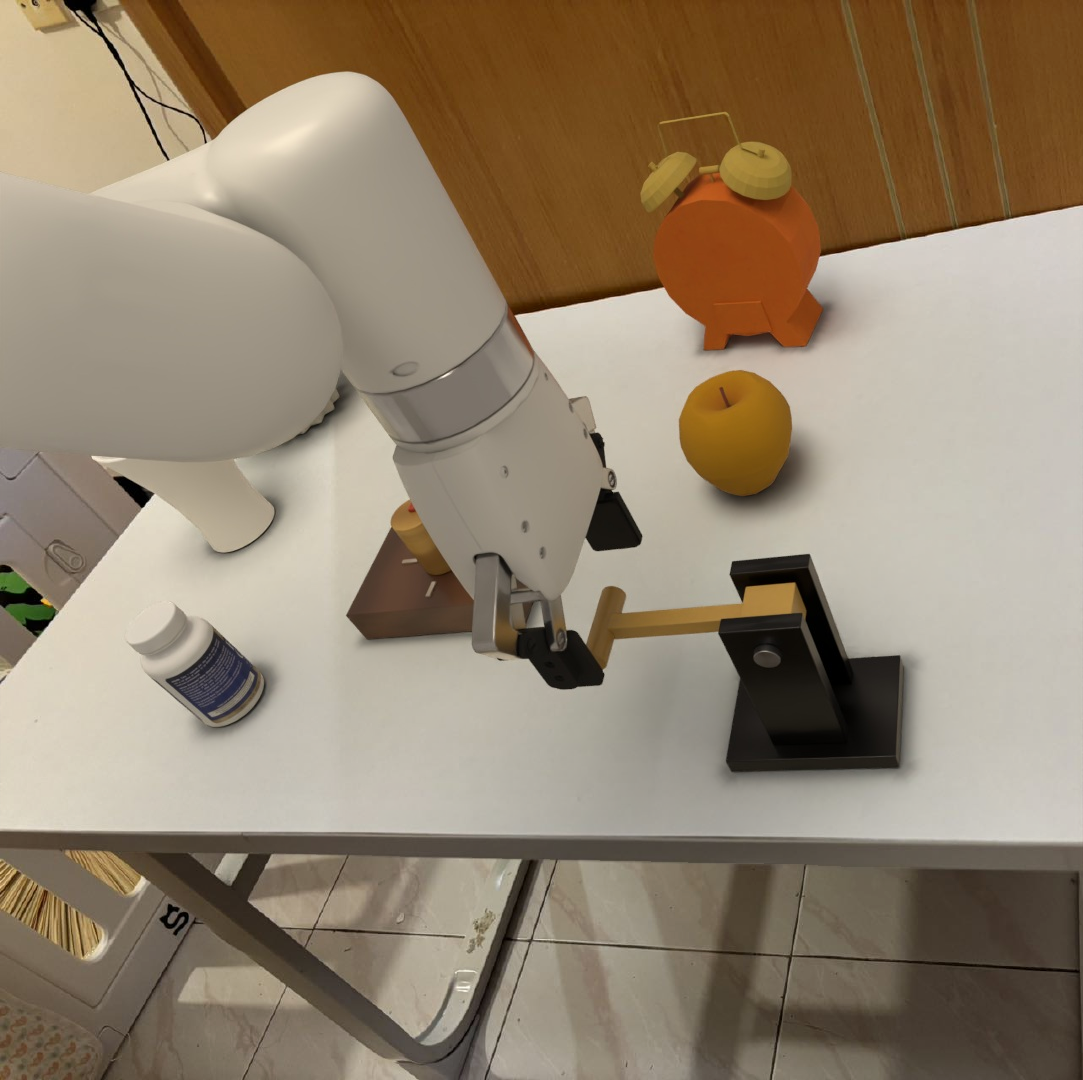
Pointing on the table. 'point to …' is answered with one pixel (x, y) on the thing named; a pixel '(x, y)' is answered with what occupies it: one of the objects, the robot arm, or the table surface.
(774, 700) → the handle bracket
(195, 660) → the pill bottle
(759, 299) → the alarm clock
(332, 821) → the table surface
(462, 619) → the brown dial base
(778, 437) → the apple
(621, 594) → the door handle
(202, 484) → the cup
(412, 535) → the dial knob
